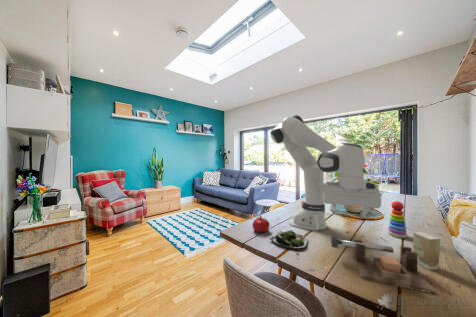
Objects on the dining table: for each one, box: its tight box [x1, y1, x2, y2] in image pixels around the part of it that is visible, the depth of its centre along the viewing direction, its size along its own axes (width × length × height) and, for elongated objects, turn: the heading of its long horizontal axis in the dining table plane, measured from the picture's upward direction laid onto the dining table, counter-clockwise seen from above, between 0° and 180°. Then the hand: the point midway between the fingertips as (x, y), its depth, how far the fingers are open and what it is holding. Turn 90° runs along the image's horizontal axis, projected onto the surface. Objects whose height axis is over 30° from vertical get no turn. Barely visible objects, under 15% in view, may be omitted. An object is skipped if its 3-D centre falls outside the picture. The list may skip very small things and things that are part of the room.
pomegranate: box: [252, 214, 271, 234], centre depth 104 cm, size 10×10×9 cm
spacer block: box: [379, 255, 401, 274], centre depth 64 cm, size 4×4×5 cm
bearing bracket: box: [351, 239, 437, 294], centre depth 66 cm, size 20×14×8 cm
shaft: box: [330, 234, 394, 254], centre depth 73 cm, size 21×4×4 cm, turn 68°
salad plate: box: [269, 229, 308, 251], centre depth 93 cm, size 19×18×5 cm
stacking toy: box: [387, 200, 408, 239], centre depth 96 cm, size 8×8×19 cm
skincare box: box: [412, 231, 441, 271], centre depth 70 cm, size 6×4×12 cm
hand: (349, 216), depth 72 cm, fingers open, 8 cm apart
